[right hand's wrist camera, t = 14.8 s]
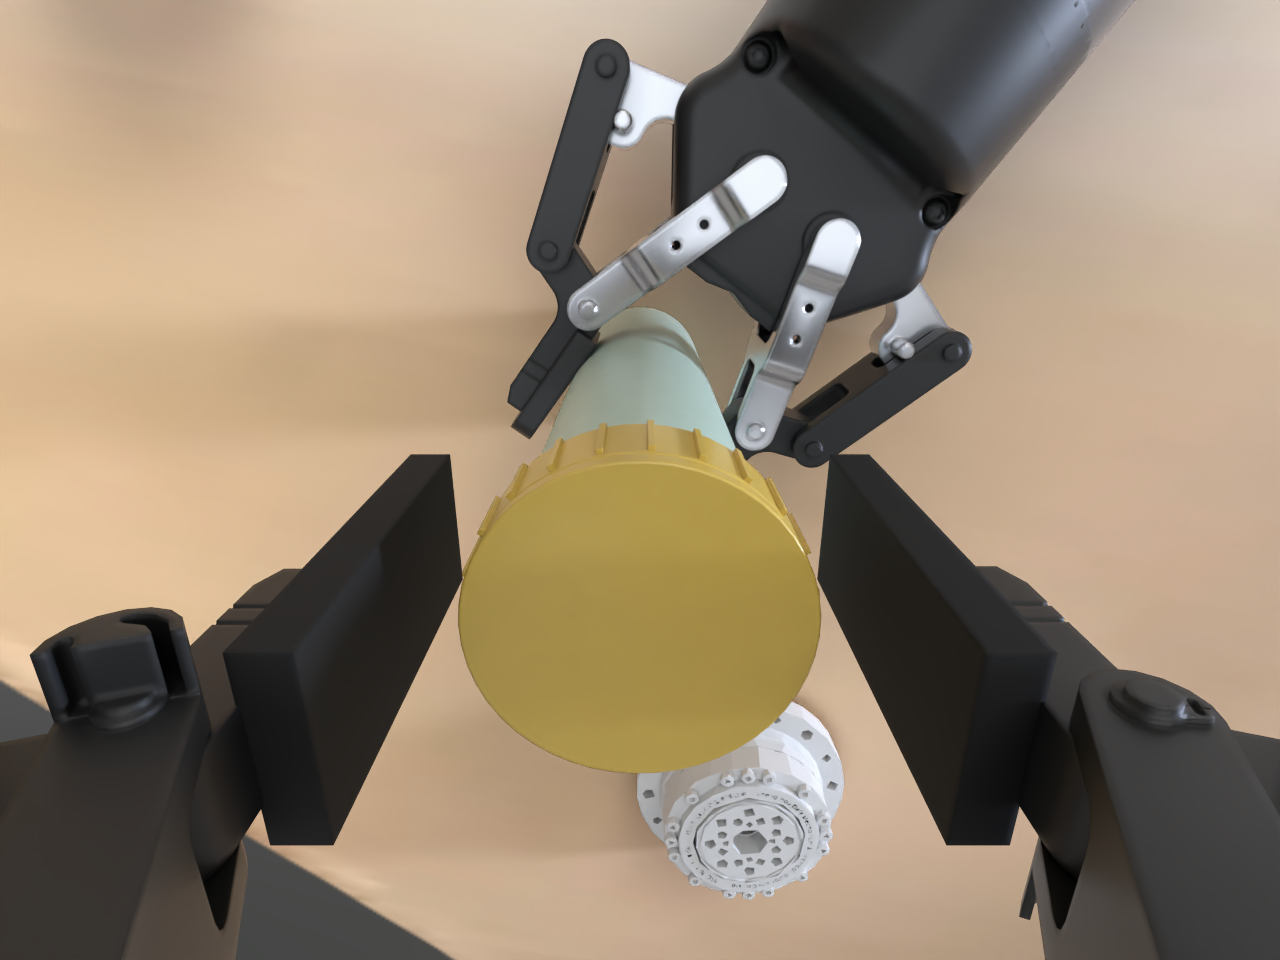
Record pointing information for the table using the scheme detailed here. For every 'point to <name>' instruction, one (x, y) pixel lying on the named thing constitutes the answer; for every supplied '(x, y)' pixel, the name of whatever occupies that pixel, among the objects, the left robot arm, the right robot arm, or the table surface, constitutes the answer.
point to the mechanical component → (750, 809)
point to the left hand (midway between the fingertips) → (592, 470)
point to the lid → (639, 601)
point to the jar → (641, 381)
